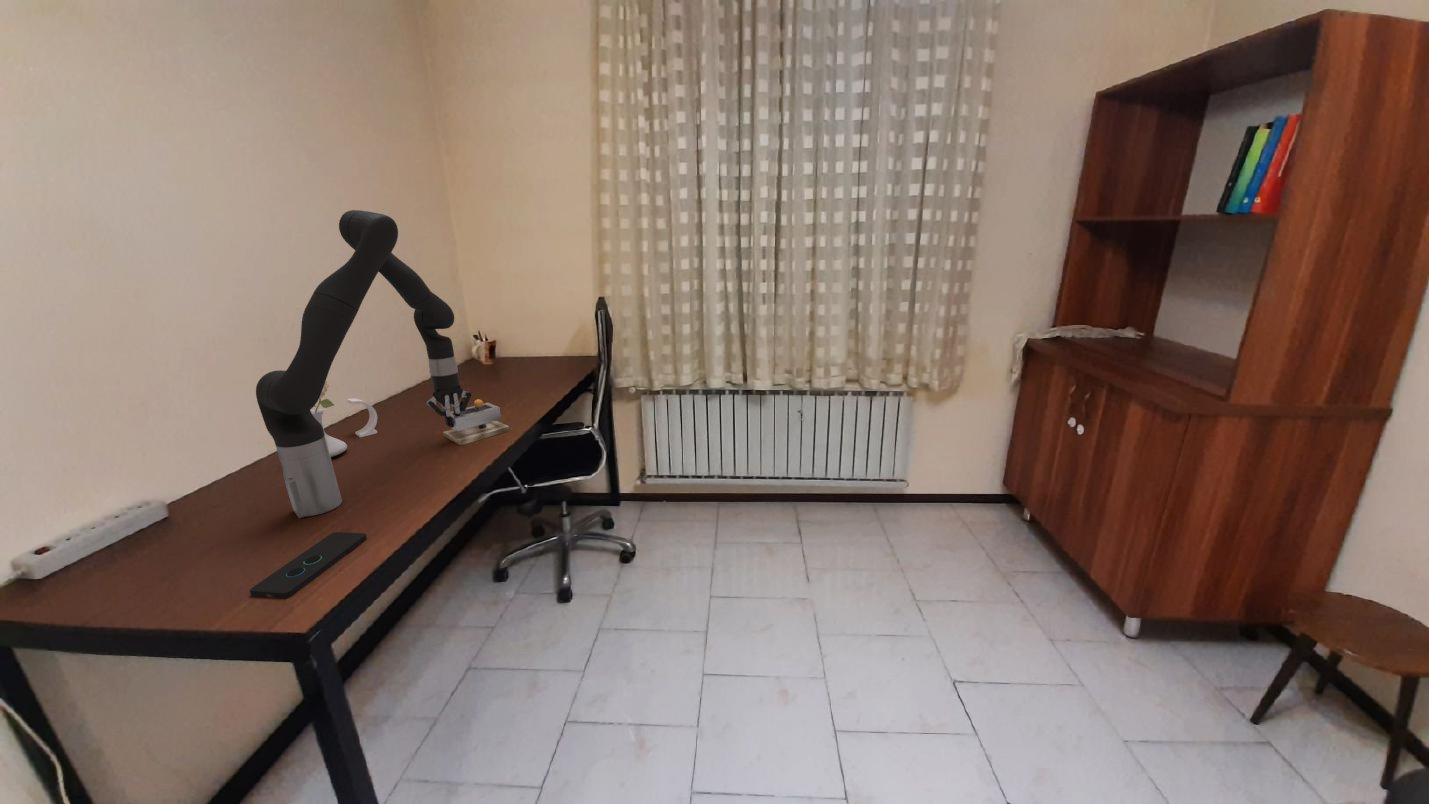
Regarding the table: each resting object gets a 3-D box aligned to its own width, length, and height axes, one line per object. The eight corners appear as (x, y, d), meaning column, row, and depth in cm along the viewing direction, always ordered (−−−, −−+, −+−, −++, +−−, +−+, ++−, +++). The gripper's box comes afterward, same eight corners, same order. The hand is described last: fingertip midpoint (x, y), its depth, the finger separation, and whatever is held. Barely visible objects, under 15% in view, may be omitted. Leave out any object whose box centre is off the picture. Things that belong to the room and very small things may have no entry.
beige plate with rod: (460, 445, 167) (453, 411, 164) (444, 436, 175) (437, 403, 171) (509, 430, 178) (504, 398, 175) (492, 422, 186) (487, 391, 182)
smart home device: (246, 590, 99) (332, 531, 118) (249, 598, 100) (334, 538, 119) (287, 592, 98) (367, 532, 117) (290, 600, 99) (369, 540, 118)
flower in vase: (292, 462, 158) (267, 378, 151) (327, 447, 169) (306, 367, 161) (328, 465, 155) (306, 379, 148) (362, 449, 166) (342, 369, 158)
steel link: (457, 431, 167) (455, 418, 166) (446, 425, 173) (444, 413, 172) (501, 419, 177) (499, 407, 176) (489, 414, 182) (488, 402, 181)
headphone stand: (355, 434, 179) (346, 399, 175) (376, 429, 183) (367, 394, 180) (360, 437, 176) (351, 401, 172) (381, 432, 180) (372, 397, 177)
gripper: (425, 378, 158) (436, 435, 163) (472, 369, 167) (481, 422, 173) (415, 374, 163) (426, 429, 168) (461, 365, 172) (470, 417, 178)
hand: (454, 425), depth 170 cm, fingers closed on steel link, 1 cm apart
